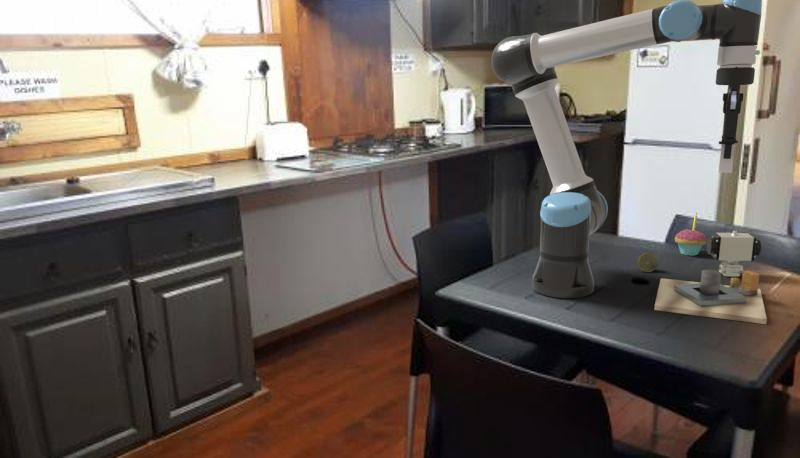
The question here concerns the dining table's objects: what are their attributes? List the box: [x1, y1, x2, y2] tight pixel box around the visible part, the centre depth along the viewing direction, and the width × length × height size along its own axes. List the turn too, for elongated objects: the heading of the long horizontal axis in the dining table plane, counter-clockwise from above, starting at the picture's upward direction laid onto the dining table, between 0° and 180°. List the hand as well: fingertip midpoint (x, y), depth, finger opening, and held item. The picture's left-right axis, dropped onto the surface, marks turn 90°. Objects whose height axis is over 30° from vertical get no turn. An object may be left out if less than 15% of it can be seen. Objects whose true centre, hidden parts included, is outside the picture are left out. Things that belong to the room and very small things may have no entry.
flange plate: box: [674, 270, 760, 306], centre depth 144 cm, size 16×11×5 cm, turn 97°
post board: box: [654, 269, 768, 325], centre depth 143 cm, size 22×20×7 cm
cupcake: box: [674, 212, 708, 257], centre depth 180 cm, size 9×8×12 cm
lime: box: [637, 252, 659, 273], centre depth 167 cm, size 4×5×5 cm
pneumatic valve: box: [706, 230, 762, 278], centre depth 161 cm, size 6×12×12 cm, turn 79°
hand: (725, 172), depth 143 cm, fingers closed
